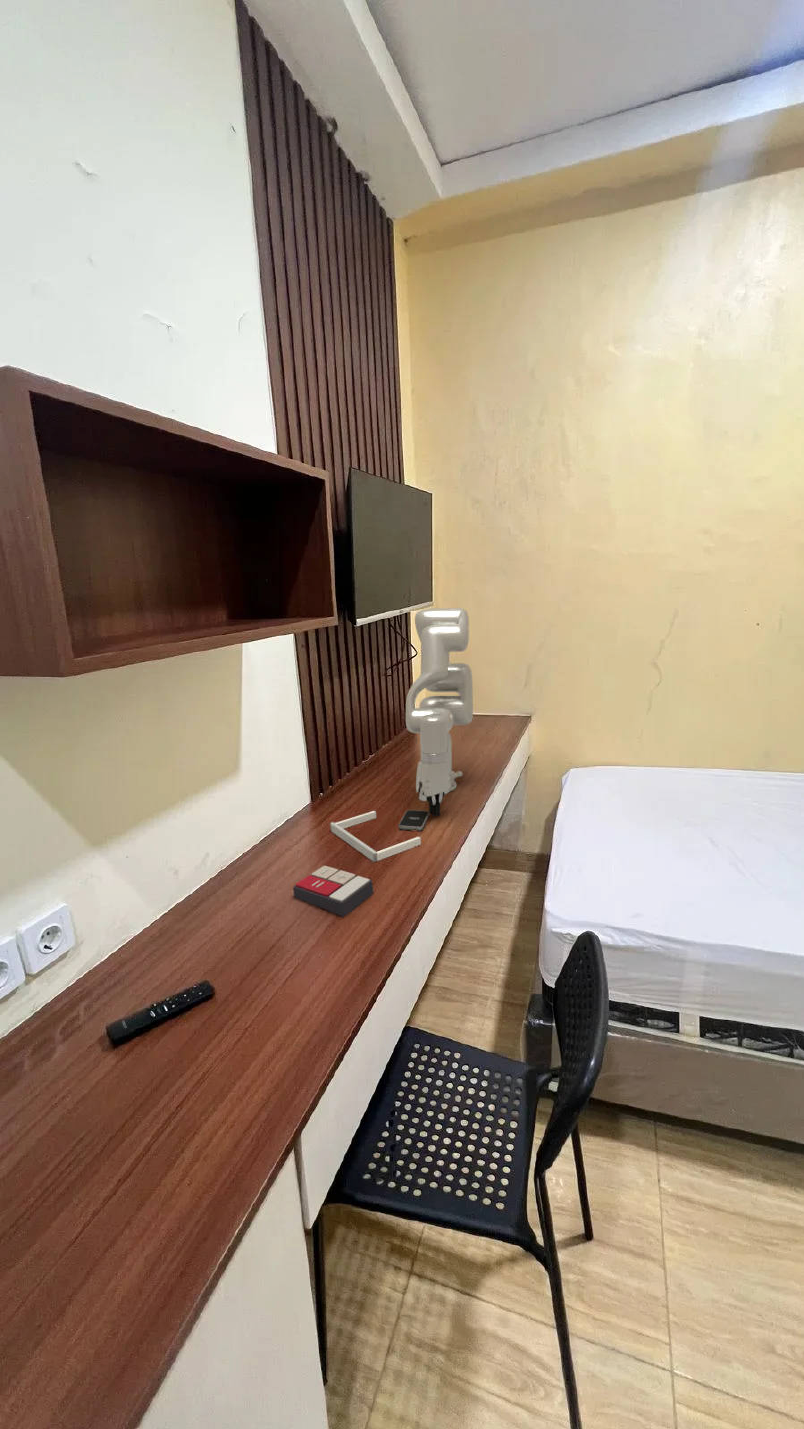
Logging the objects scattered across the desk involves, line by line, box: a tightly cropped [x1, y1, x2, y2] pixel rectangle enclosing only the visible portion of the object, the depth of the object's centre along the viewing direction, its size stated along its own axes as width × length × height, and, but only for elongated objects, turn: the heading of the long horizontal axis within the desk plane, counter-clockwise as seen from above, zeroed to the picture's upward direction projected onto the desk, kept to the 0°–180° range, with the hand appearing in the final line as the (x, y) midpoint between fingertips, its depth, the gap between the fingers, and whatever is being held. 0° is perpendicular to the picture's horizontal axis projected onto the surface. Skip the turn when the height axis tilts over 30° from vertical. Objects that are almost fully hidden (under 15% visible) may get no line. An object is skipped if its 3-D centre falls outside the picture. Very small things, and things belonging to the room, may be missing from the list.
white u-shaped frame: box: [329, 810, 422, 863], centre depth 157 cm, size 15×23×2 cm, turn 36°
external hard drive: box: [398, 809, 430, 833], centre depth 166 cm, size 7×11×2 cm, turn 166°
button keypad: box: [292, 865, 374, 918], centre depth 130 cm, size 11×4×15 cm
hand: (434, 814), depth 169 cm, fingers closed
